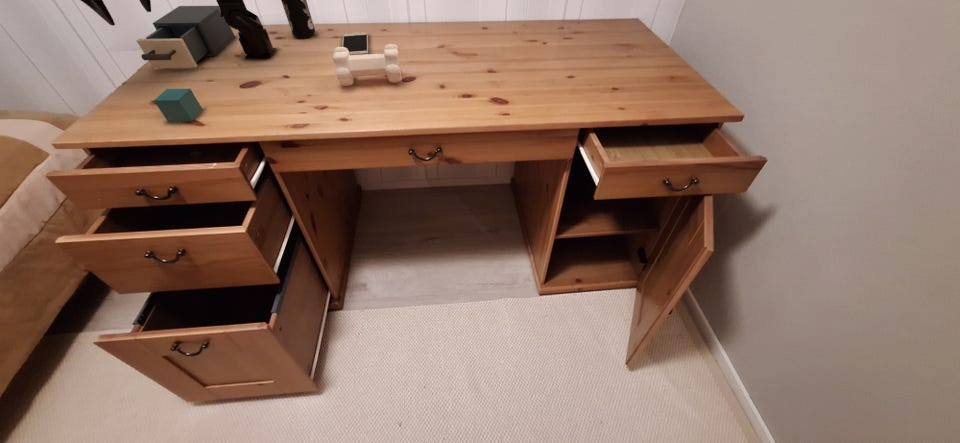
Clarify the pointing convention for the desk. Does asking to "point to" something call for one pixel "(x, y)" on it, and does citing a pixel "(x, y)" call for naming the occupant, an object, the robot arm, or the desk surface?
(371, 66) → the bone shaped toy
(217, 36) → the cabinet
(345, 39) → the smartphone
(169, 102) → the block
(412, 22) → the desk surface
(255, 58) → the robot arm
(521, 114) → the desk surface
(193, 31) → the drawer
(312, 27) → the beverage can
